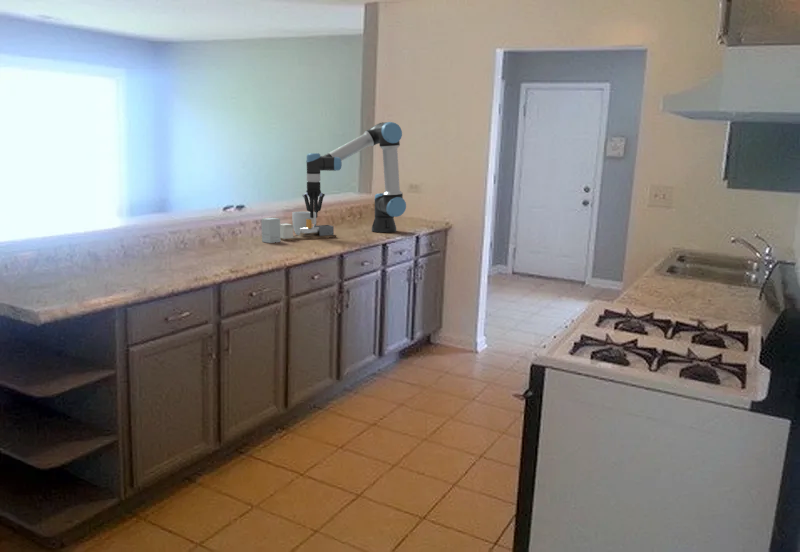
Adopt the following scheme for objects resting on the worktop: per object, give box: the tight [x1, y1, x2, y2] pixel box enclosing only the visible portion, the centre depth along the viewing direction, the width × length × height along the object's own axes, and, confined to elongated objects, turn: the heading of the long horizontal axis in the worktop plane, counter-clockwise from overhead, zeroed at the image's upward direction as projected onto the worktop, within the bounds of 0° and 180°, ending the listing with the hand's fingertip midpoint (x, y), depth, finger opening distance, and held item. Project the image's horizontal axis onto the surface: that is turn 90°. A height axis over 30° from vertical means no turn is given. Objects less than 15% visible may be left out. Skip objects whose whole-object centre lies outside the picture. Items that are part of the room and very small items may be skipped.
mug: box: [291, 211, 317, 236], centre depth 392 cm, size 15×11×13 cm
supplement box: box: [260, 217, 282, 244], centre depth 362 cm, size 7×7×13 cm
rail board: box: [280, 234, 337, 242], centre depth 378 cm, size 32×9×1 cm, turn 125°
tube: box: [298, 219, 319, 236], centre depth 380 cm, size 18×4×9 cm, turn 125°
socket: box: [280, 223, 294, 239], centre depth 370 cm, size 5×8×7 cm
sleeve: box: [313, 224, 335, 236], centre depth 383 cm, size 9×7×5 cm
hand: (313, 223), depth 379 cm, fingers closed
